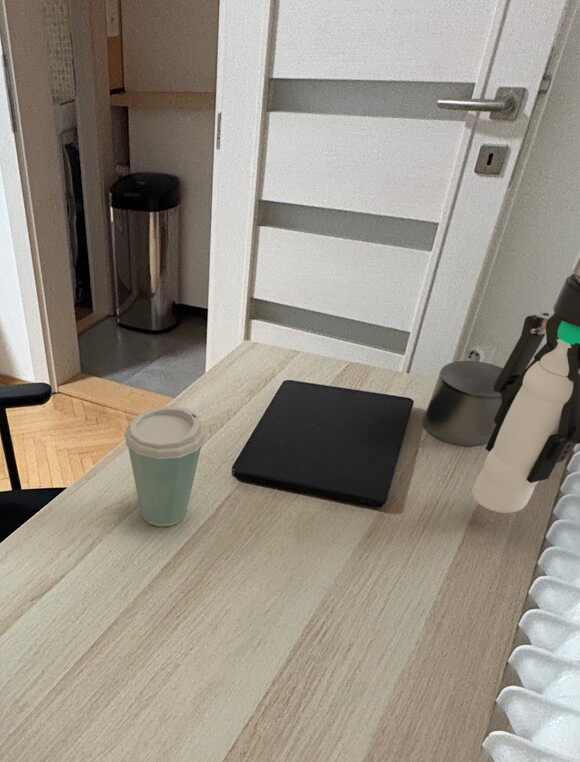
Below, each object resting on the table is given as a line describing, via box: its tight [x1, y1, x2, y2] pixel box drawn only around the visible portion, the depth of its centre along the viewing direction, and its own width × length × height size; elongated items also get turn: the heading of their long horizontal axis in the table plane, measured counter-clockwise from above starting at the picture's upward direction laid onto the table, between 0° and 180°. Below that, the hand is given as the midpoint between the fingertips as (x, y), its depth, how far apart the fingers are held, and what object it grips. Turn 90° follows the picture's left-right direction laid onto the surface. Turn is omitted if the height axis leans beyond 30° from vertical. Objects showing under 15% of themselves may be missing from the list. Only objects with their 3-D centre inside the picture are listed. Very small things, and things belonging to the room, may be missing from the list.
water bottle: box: [471, 320, 580, 514], centre depth 77 cm, size 7×7×25 cm
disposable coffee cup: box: [124, 405, 206, 527], centre depth 86 cm, size 11×11×15 cm
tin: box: [422, 360, 504, 447], centre depth 102 cm, size 12×12×9 cm
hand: (515, 462), depth 82 cm, fingers closed on water bottle, 7 cm apart
